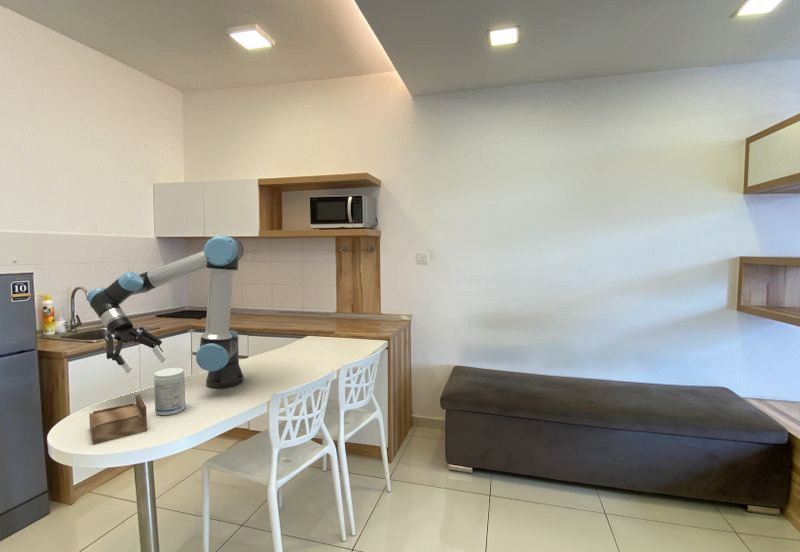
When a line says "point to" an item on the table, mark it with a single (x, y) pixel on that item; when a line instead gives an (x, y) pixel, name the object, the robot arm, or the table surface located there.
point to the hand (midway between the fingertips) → (147, 365)
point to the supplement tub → (169, 391)
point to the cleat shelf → (118, 421)
